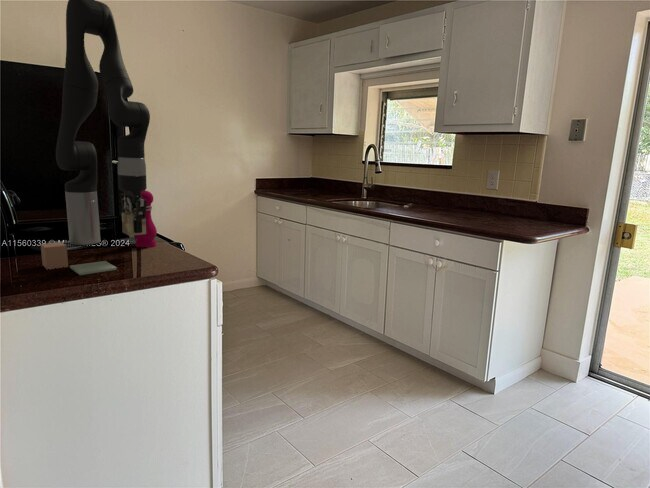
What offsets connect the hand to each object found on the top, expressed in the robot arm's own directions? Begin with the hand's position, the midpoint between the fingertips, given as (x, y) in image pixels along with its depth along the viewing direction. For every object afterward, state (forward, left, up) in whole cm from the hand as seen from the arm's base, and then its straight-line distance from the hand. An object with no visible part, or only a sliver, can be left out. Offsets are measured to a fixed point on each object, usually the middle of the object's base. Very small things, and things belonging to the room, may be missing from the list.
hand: (134, 230), depth 132 cm
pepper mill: (-13, +8, -8) cm, 17 cm away
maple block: (0, 0, -1) cm, 1 cm away
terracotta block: (-2, -21, -8) cm, 22 cm away
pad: (+7, -14, -8) cm, 17 cm away
